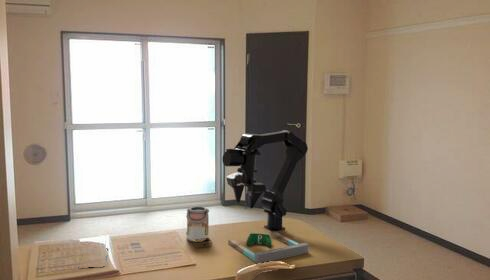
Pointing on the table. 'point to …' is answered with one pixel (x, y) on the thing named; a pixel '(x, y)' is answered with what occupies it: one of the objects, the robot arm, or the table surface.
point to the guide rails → (240, 248)
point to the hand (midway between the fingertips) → (244, 205)
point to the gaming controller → (259, 239)
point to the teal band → (252, 255)
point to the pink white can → (197, 223)
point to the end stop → (281, 253)
